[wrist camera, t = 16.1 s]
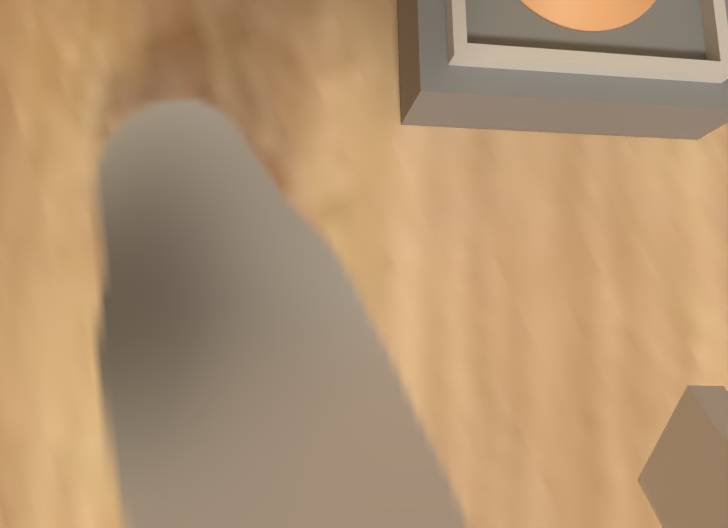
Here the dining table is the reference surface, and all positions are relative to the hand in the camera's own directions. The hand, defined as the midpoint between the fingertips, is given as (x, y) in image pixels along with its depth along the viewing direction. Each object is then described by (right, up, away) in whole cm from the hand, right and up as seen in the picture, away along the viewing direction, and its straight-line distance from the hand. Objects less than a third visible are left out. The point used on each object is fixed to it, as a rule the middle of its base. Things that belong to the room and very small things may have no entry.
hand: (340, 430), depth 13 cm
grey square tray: (+13, +22, +35) cm, 44 cm away
